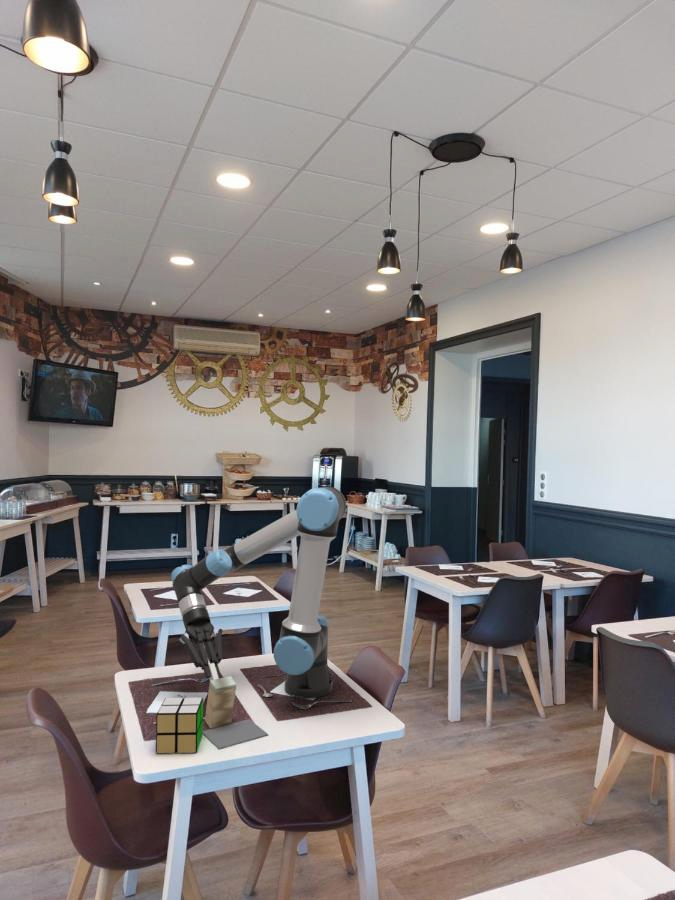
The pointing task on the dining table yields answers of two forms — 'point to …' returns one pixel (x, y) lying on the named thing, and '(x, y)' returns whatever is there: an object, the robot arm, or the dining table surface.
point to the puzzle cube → (179, 725)
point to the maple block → (220, 702)
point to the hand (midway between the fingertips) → (216, 687)
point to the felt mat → (234, 734)
